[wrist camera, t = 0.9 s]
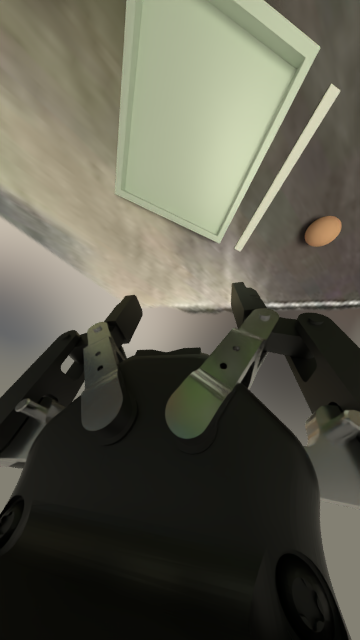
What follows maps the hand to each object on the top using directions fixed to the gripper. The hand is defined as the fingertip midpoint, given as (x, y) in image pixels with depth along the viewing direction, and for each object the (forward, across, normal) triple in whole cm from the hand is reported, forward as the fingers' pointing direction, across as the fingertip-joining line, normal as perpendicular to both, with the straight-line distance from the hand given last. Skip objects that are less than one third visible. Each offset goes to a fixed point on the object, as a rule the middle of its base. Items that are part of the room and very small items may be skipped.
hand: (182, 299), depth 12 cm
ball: (+24, -25, +3) cm, 35 cm away
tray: (+27, -2, -14) cm, 30 cm away
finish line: (+27, -16, -5) cm, 31 cm away
